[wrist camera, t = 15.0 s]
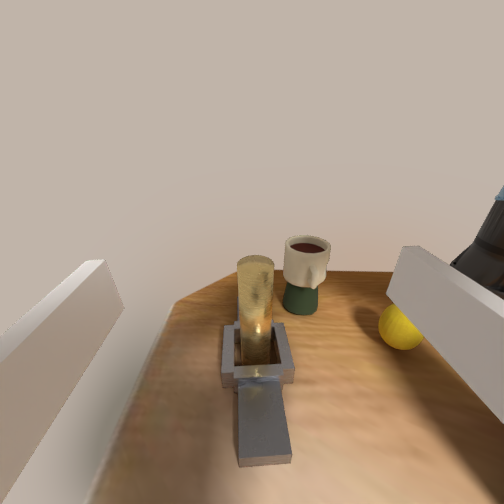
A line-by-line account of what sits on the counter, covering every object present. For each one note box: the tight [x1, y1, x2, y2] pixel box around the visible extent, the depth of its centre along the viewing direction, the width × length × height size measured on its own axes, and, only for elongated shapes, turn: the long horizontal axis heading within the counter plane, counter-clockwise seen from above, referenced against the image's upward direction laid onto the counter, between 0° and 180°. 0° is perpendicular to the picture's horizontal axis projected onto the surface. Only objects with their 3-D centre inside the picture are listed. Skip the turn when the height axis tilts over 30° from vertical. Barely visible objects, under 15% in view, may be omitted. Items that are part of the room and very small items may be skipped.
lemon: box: [378, 304, 424, 350], centre depth 32 cm, size 6×6×8 cm
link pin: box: [237, 255, 274, 366], centre depth 28 cm, size 4×4×16 cm
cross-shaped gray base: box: [221, 296, 295, 468], centre depth 31 cm, size 9×23×3 cm, turn 4°
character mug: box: [283, 235, 331, 315], centre depth 38 cm, size 11×7×13 cm, turn 3°
